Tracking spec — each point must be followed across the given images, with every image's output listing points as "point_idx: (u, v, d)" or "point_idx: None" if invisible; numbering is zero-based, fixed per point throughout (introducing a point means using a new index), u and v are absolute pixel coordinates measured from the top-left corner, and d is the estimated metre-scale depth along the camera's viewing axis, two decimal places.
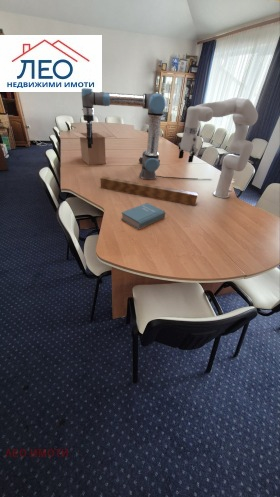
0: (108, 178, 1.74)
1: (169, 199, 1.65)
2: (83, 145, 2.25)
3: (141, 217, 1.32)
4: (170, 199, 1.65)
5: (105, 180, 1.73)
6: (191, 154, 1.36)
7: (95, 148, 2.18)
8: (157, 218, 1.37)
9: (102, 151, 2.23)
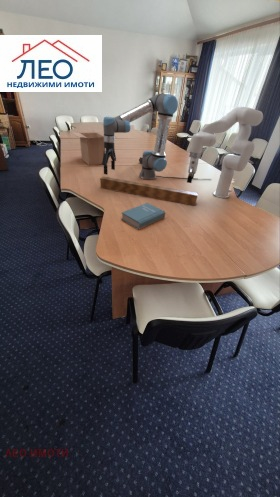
0: (108, 178, 1.74)
1: (169, 199, 1.65)
2: (83, 145, 2.25)
3: (141, 217, 1.32)
4: (170, 199, 1.65)
5: (105, 180, 1.73)
6: (188, 175, 1.48)
7: (95, 148, 2.18)
8: (157, 218, 1.37)
9: (102, 151, 2.23)
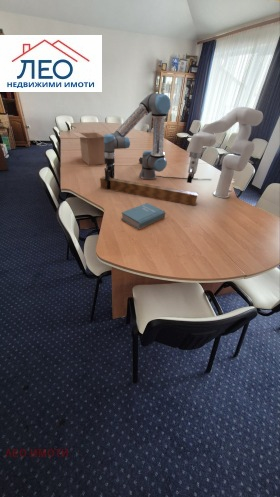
0: None
1: (169, 199, 1.65)
2: (83, 145, 2.25)
3: (141, 217, 1.32)
4: (170, 199, 1.65)
5: None
6: (188, 175, 1.48)
7: (95, 148, 2.18)
8: (157, 218, 1.37)
9: (102, 151, 2.23)
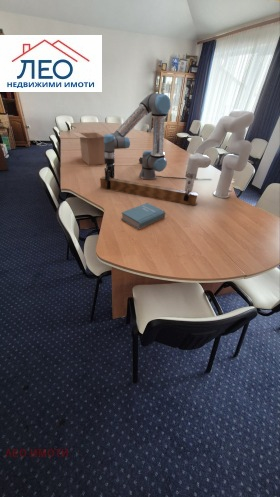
0: None
1: (169, 199, 1.65)
2: (83, 145, 2.25)
3: (141, 217, 1.32)
4: (170, 199, 1.65)
5: None
6: (185, 195, 1.58)
7: (95, 148, 2.18)
8: (157, 218, 1.37)
9: (102, 151, 2.23)
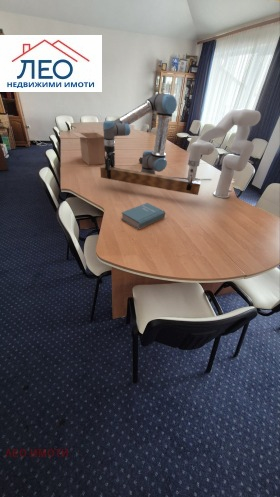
0: None
1: (171, 188, 1.61)
2: (83, 145, 2.25)
3: (141, 217, 1.32)
4: (172, 188, 1.61)
5: None
6: None
7: (95, 148, 2.18)
8: (157, 218, 1.37)
9: (102, 151, 2.23)
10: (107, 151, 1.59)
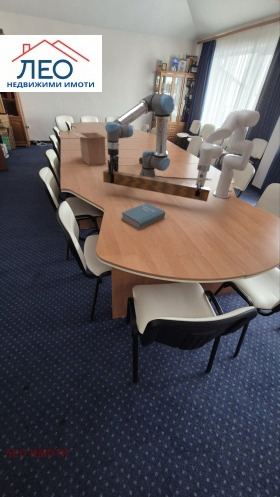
0: None
1: (178, 194, 1.51)
2: (83, 145, 2.25)
3: (141, 217, 1.32)
4: (179, 194, 1.51)
5: None
6: (196, 189, 1.44)
7: (95, 148, 2.18)
8: (157, 218, 1.37)
9: (102, 151, 2.23)
10: (111, 154, 1.50)
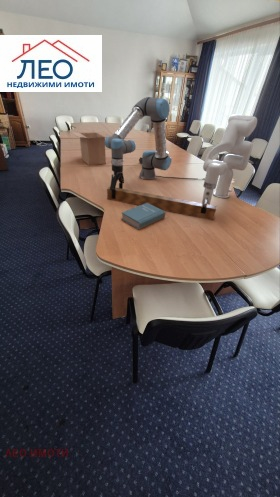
0: (116, 188, 1.58)
1: (183, 212, 1.49)
2: (83, 145, 2.25)
3: (141, 217, 1.32)
4: (185, 212, 1.49)
5: None
6: (202, 206, 1.39)
7: (95, 148, 2.18)
8: (157, 218, 1.37)
9: (102, 151, 2.23)
10: (115, 171, 1.46)
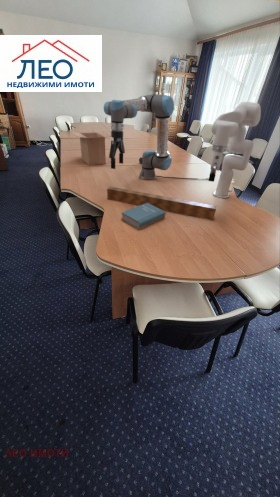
0: (116, 188, 1.58)
1: (183, 212, 1.49)
2: (83, 145, 2.25)
3: (141, 217, 1.32)
4: (185, 212, 1.49)
5: (112, 191, 1.57)
6: (211, 172, 1.26)
7: (95, 148, 2.18)
8: (157, 218, 1.37)
9: (102, 151, 2.23)
10: (114, 137, 1.34)
